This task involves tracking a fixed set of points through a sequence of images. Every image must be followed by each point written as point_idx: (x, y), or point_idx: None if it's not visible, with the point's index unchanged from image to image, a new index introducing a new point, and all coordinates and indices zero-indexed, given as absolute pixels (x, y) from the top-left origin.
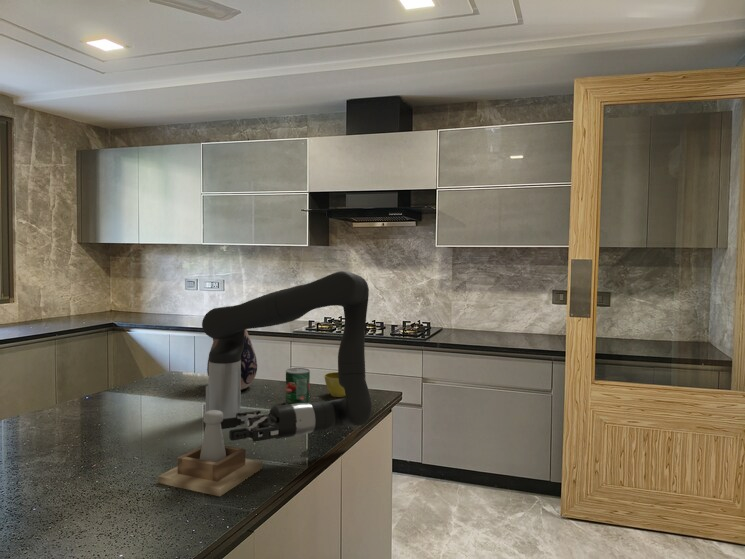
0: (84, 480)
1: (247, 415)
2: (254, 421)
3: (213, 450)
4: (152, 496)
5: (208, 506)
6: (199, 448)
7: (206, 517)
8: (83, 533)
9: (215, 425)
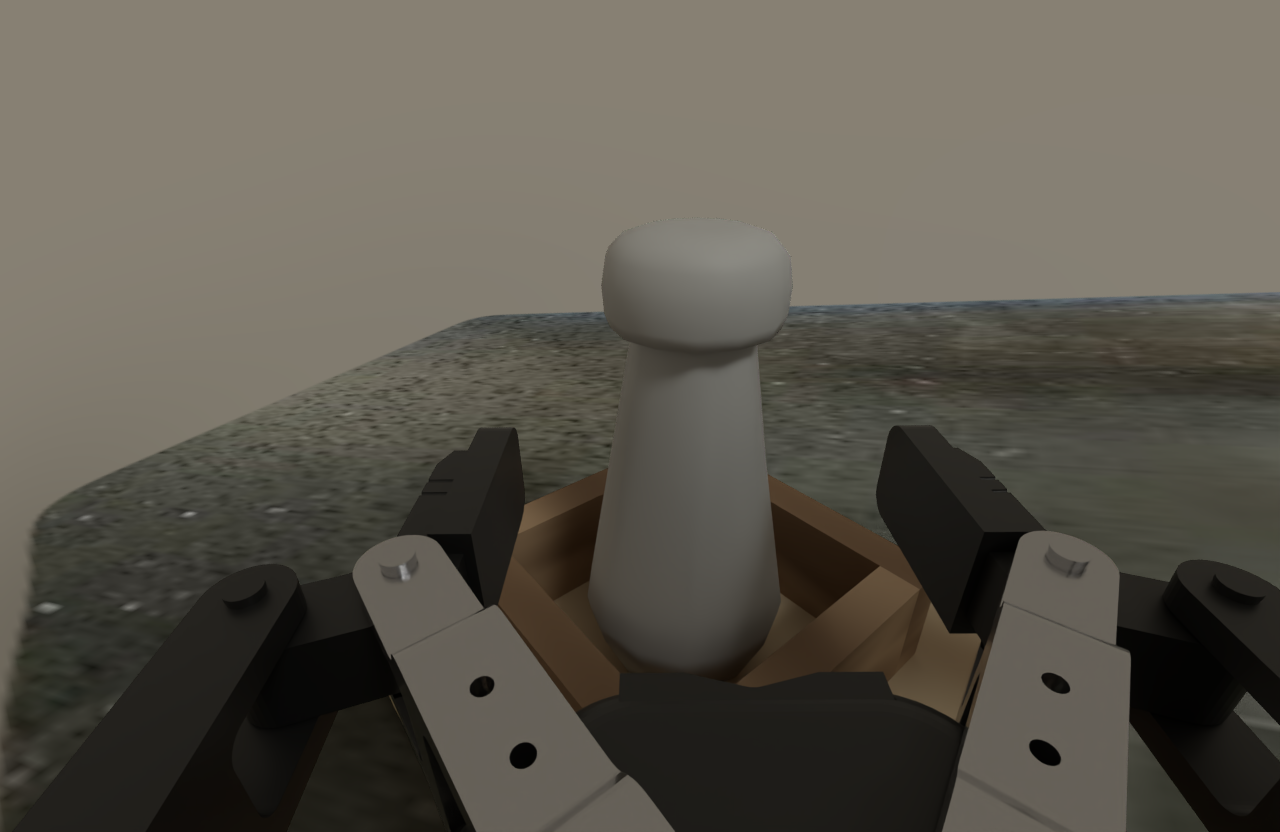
0: (793, 368)
1: (1001, 625)
2: (722, 717)
3: (603, 506)
4: (571, 458)
5: (312, 581)
6: (814, 514)
7: (226, 558)
8: (453, 365)
9: (635, 347)
